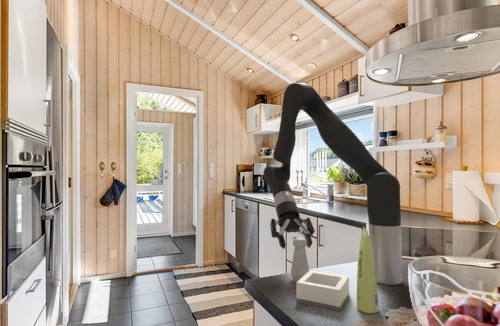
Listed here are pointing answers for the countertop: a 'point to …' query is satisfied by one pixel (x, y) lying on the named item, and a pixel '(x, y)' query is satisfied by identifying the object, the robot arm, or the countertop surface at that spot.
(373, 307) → the tube
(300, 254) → the salt shaker
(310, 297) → the socket dock
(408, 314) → the countertop surface
